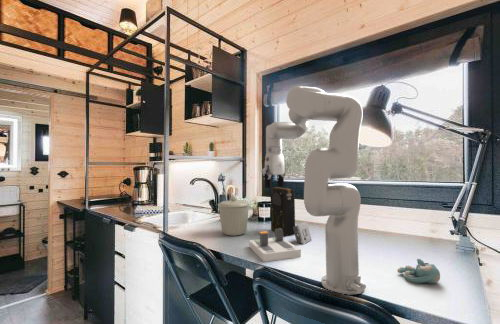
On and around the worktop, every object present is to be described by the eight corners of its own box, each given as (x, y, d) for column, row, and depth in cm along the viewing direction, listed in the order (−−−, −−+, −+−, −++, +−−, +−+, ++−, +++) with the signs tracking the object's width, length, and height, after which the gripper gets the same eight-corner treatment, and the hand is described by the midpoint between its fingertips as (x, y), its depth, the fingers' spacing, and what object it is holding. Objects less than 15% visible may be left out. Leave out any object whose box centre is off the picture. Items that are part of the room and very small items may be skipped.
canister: (239, 239, 133) (238, 198, 133) (211, 235, 142) (210, 196, 142) (256, 231, 149) (255, 194, 149) (230, 228, 158) (229, 193, 158)
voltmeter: (269, 230, 150) (268, 187, 151) (281, 228, 154) (281, 186, 155) (283, 237, 136) (282, 189, 137) (297, 235, 140) (296, 188, 140)
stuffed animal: (402, 253, 93) (441, 255, 84) (406, 274, 92) (447, 279, 83) (388, 261, 86) (430, 264, 77) (393, 283, 85) (436, 289, 76)
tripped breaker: (268, 245, 111) (267, 232, 111) (261, 245, 110) (261, 232, 110) (266, 243, 113) (266, 231, 113) (259, 244, 112) (259, 231, 112)
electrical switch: (303, 245, 122) (301, 225, 123) (293, 244, 126) (291, 224, 126) (312, 240, 130) (310, 221, 130) (302, 239, 133) (300, 221, 134)
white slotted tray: (300, 256, 106) (300, 249, 106) (264, 261, 102) (263, 253, 102) (281, 243, 125) (280, 236, 125) (249, 246, 121) (249, 239, 121)
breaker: (283, 240, 118) (282, 229, 118) (277, 240, 117) (276, 229, 117) (281, 239, 120) (281, 228, 120) (275, 239, 119) (275, 228, 119)
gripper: (268, 150, 114) (269, 189, 114) (291, 151, 126) (291, 186, 127) (256, 150, 119) (256, 188, 119) (278, 151, 132) (279, 185, 132)
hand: (274, 187), depth 123 cm, fingers open, 9 cm apart
